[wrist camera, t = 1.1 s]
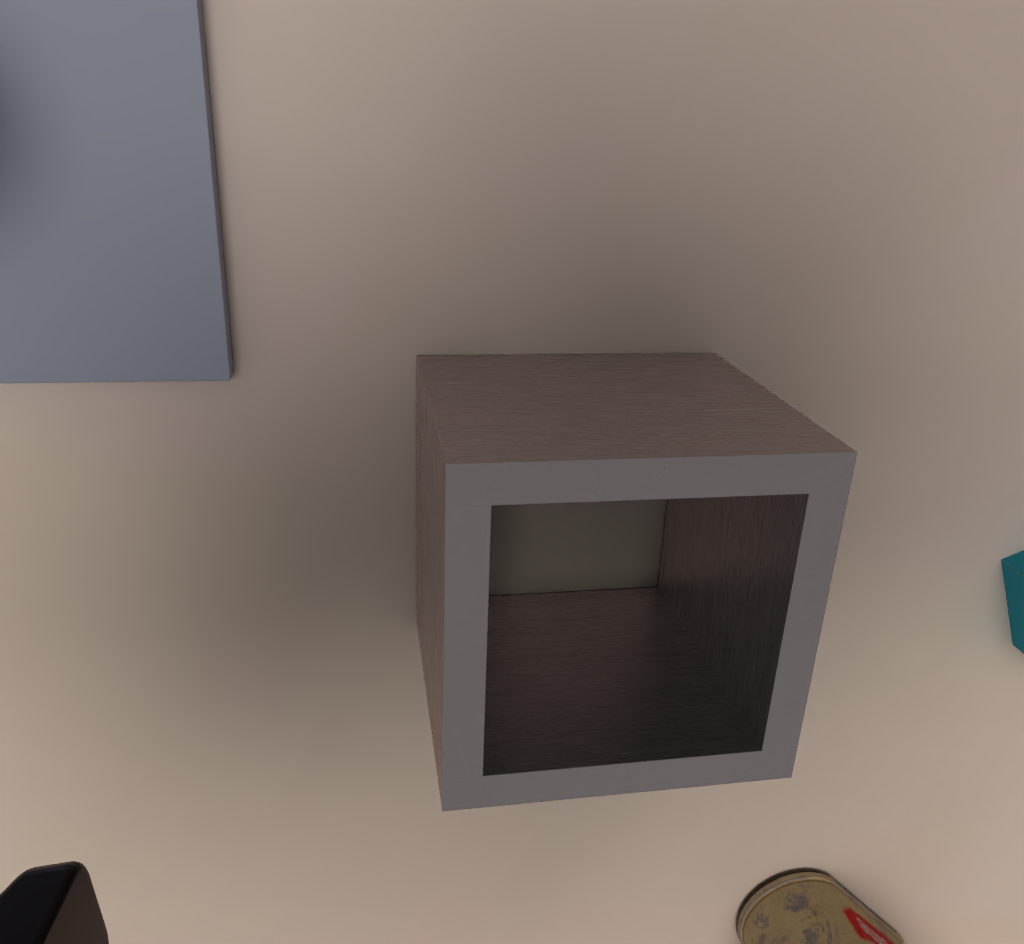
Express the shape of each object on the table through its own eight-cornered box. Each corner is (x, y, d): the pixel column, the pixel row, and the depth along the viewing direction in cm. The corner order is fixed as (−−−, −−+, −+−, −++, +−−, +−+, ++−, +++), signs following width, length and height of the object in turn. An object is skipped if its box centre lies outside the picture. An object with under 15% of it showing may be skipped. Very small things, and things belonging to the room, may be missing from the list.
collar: (715, 353, 20) (856, 452, 14) (681, 609, 22) (791, 777, 17) (416, 355, 18) (445, 464, 13) (417, 626, 21) (442, 810, 16)
